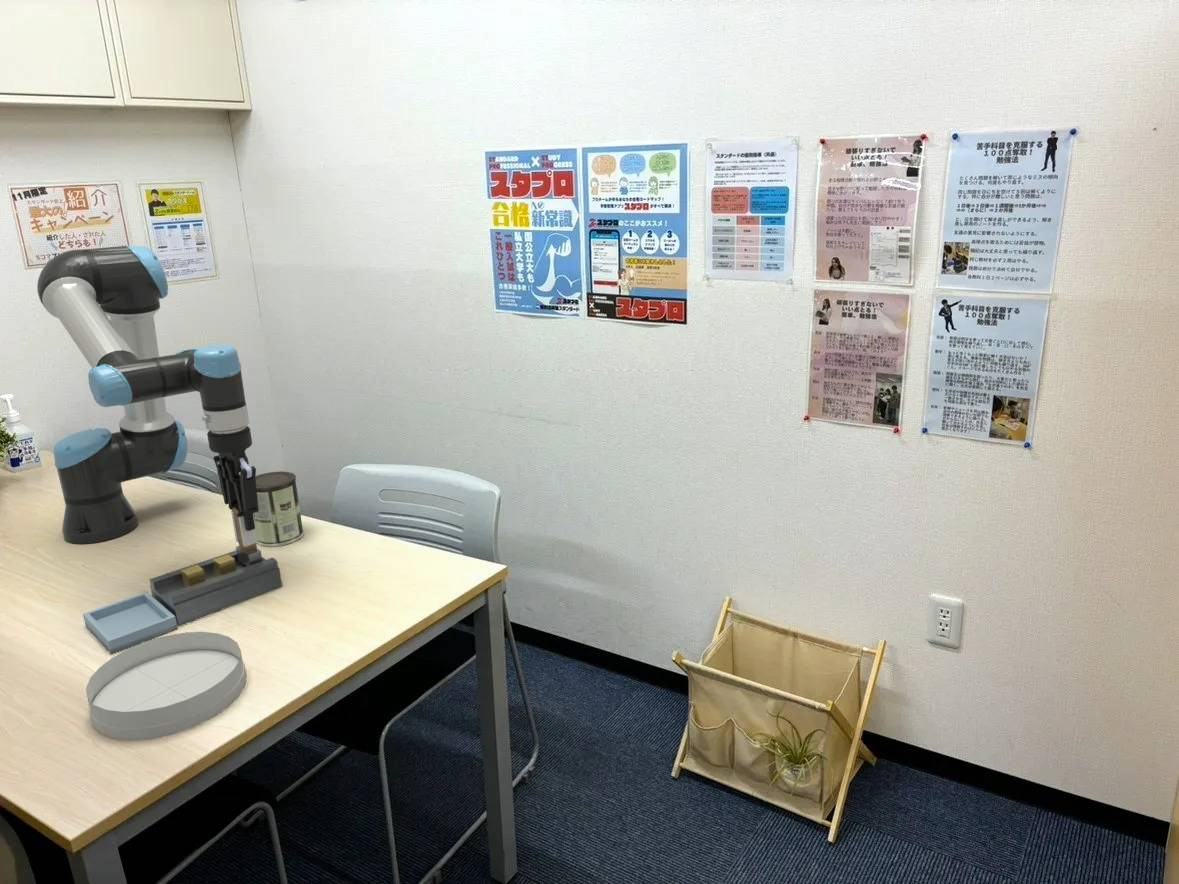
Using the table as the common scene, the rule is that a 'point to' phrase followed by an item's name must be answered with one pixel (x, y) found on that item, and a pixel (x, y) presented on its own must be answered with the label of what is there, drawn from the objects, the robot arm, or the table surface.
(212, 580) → the slot bed
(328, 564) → the table surface
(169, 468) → the robot arm
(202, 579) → the yellow wooden cube
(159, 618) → the tray
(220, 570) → the yellow cube
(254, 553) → the hammer
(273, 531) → the coffee can
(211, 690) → the dish
